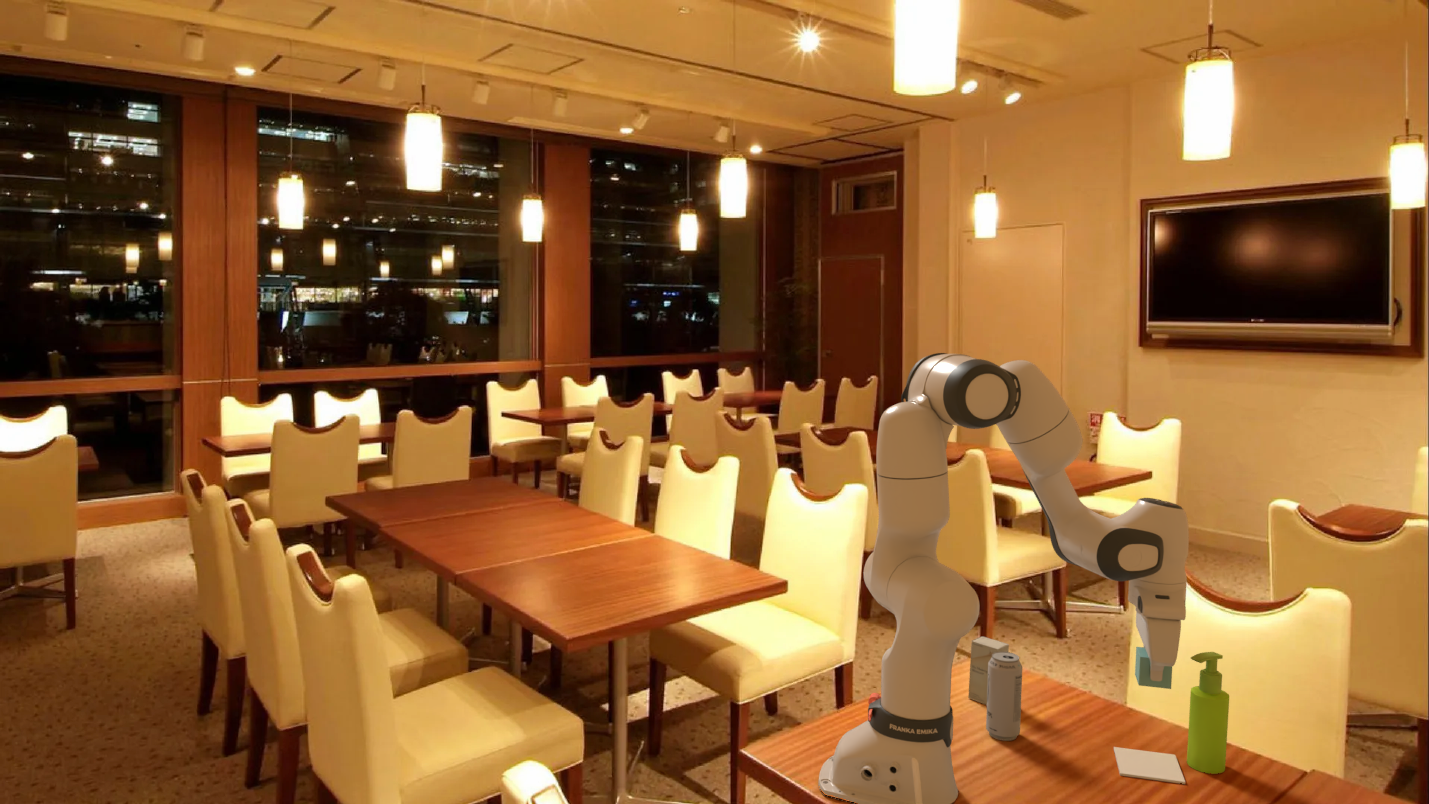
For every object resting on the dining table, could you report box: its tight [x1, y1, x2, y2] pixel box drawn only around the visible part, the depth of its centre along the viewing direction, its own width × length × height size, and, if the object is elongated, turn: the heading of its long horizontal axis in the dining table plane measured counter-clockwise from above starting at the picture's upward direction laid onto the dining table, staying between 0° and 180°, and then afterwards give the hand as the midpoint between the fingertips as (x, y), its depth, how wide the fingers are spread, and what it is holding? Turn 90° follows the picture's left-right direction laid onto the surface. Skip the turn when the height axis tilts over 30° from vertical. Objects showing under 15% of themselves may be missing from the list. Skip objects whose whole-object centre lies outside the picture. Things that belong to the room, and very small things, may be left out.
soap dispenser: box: [1186, 651, 1230, 775], centre depth 162 cm, size 6×7×20 cm
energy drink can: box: [985, 651, 1023, 742], centre depth 174 cm, size 6×6×15 cm
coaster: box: [1113, 746, 1186, 785], centre depth 163 cm, size 10×10×1 cm
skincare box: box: [967, 635, 1010, 706], centre depth 189 cm, size 6×4×12 cm
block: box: [1134, 646, 1173, 690], centre depth 161 cm, size 5×5×5 cm
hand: (1152, 672), depth 161 cm, fingers closed on block, 5 cm apart
